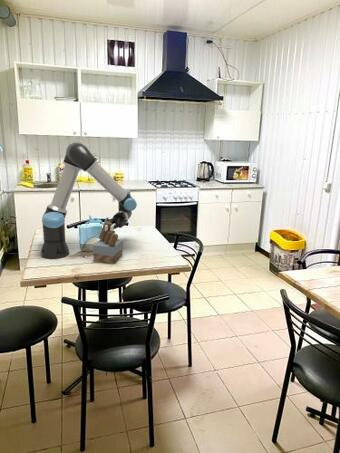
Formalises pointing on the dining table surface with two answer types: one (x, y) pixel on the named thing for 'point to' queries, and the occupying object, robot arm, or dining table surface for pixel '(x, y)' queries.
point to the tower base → (107, 258)
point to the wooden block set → (108, 234)
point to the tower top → (107, 248)
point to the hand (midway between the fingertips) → (108, 228)
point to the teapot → (95, 220)
